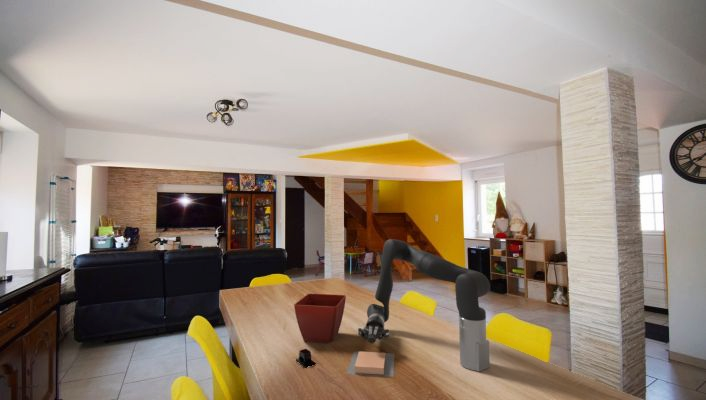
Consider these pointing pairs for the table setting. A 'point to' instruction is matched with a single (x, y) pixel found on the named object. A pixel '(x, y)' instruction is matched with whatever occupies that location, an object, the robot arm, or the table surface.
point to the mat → (387, 373)
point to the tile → (370, 363)
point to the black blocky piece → (305, 358)
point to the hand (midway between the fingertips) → (371, 340)
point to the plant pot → (320, 316)
